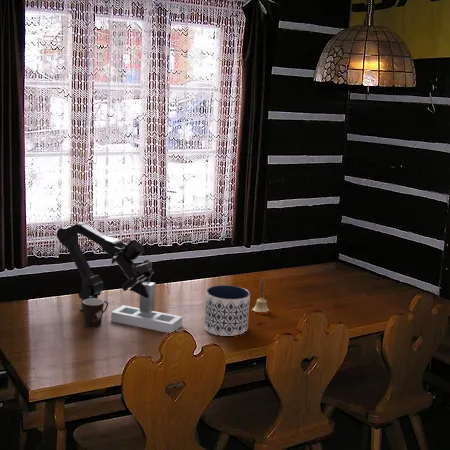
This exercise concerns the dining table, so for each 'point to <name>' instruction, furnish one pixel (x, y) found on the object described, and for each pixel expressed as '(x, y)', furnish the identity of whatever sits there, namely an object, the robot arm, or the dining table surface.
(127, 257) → the robot arm
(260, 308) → the hand bell
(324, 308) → the dining table surface
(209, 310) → the planter
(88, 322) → the coffee mug
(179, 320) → the white flat frame block
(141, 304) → the steel peg
